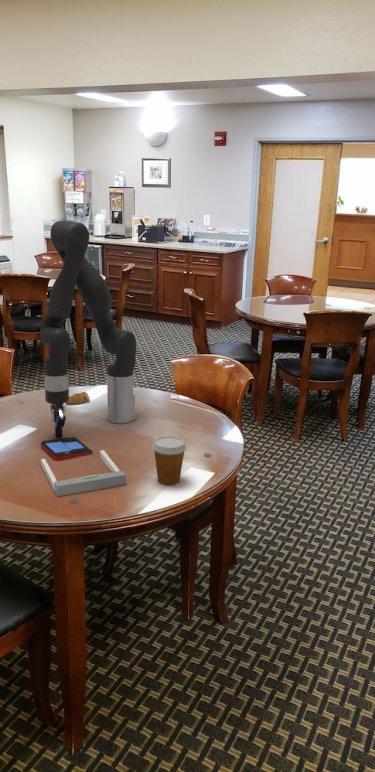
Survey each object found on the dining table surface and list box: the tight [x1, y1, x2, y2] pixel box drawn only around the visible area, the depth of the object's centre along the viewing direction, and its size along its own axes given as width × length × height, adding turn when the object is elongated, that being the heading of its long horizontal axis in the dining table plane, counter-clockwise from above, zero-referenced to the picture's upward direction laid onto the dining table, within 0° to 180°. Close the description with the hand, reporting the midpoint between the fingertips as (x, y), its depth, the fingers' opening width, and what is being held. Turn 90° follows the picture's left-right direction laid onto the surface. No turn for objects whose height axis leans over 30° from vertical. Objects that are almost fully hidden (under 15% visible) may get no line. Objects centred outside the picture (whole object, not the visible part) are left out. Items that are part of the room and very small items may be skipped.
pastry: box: [65, 391, 91, 406], centre depth 233 cm, size 9×7×4 cm
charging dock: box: [40, 449, 127, 498], centre depth 172 cm, size 19×21×3 cm
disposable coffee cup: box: [152, 435, 187, 486], centre depth 169 cm, size 10×10×12 cm
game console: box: [40, 436, 93, 462], centre depth 190 cm, size 14×13×2 cm
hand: (58, 436), depth 197 cm, fingers closed
